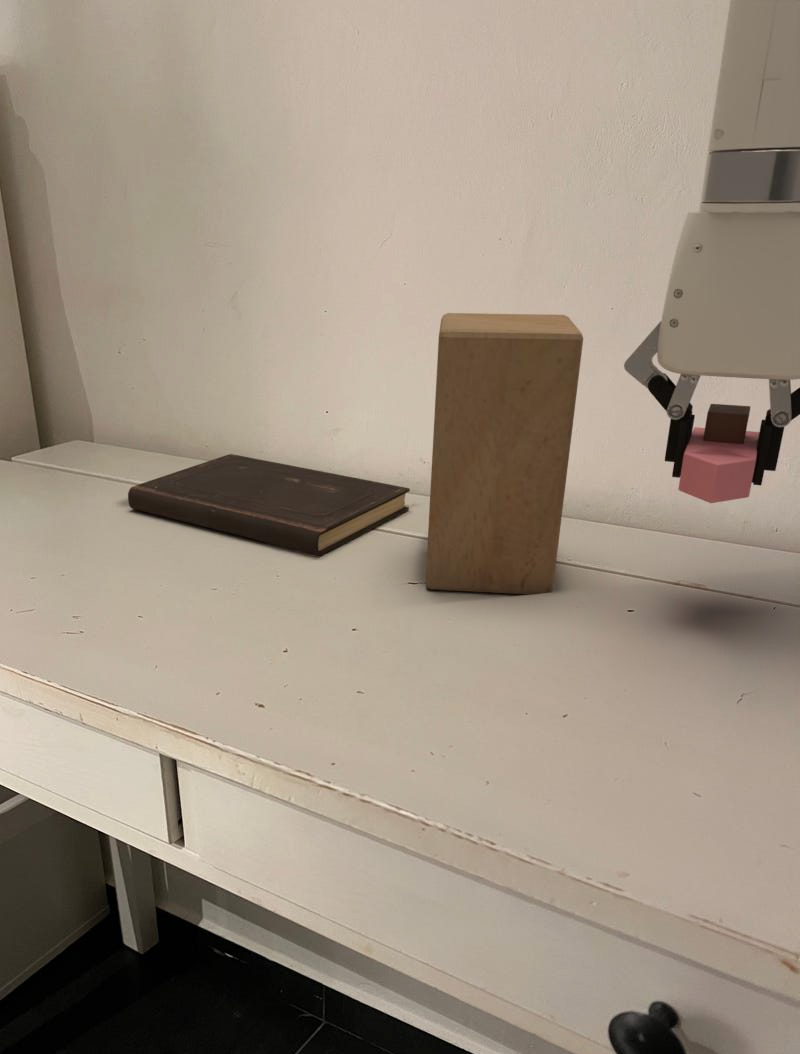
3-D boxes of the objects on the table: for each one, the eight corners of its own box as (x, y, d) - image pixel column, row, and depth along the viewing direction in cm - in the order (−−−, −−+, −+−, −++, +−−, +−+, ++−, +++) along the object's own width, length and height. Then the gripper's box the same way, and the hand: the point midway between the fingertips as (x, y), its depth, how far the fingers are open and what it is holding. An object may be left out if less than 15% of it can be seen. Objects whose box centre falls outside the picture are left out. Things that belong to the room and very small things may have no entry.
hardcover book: (231, 473, 103) (230, 453, 102) (408, 510, 91) (409, 488, 90) (128, 510, 91) (126, 488, 90) (317, 558, 79) (317, 533, 78)
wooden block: (428, 547, 82) (441, 312, 73) (542, 552, 81) (569, 314, 72) (424, 591, 73) (438, 329, 64) (552, 597, 72) (585, 332, 63)
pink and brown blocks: (688, 461, 68) (698, 399, 66) (752, 467, 66) (765, 403, 64) (674, 499, 60) (685, 430, 58) (747, 507, 58) (761, 436, 56)
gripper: (921, 181, 56) (850, 473, 64) (633, 187, 62) (602, 452, 70) (937, 182, 50) (856, 505, 58) (616, 189, 56) (584, 478, 64)
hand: (717, 473), depth 64 cm, fingers closed on pink and brown blocks, 4 cm apart
